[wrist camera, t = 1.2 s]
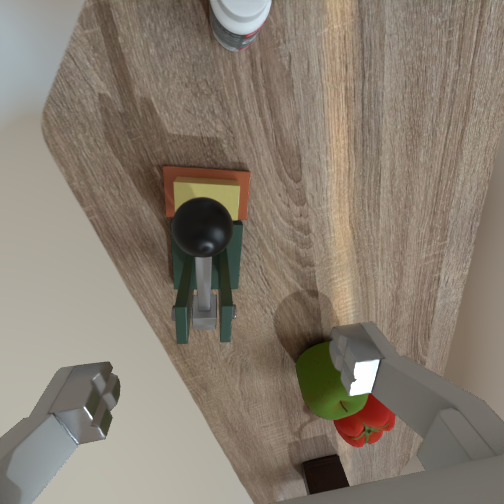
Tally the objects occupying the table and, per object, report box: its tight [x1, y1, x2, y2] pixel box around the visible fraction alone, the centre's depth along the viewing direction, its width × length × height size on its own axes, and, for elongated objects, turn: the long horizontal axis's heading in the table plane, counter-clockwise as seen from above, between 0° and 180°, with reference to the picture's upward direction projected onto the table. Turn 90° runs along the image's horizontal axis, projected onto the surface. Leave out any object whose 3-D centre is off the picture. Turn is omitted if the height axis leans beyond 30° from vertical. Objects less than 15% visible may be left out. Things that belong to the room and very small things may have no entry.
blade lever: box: [172, 197, 233, 330], centre depth 20 cm, size 15×4×4 cm, turn 175°
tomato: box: [333, 393, 395, 447], centre depth 52 cm, size 13×12×8 cm
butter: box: [163, 165, 251, 220], centre depth 30 cm, size 6×10×4 cm, turn 85°
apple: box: [296, 341, 369, 420], centre depth 43 cm, size 11×11×11 cm
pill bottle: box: [209, 0, 271, 51], centre depth 20 cm, size 5×5×8 cm
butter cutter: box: [170, 219, 243, 344], centre depth 29 cm, size 10×9×14 cm
